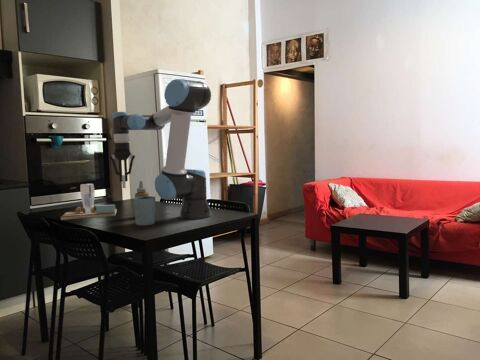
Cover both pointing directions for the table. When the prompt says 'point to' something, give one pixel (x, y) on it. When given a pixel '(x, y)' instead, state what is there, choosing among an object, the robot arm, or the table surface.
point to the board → (85, 214)
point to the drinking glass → (144, 210)
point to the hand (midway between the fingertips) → (124, 187)
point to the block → (105, 209)
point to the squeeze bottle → (141, 191)
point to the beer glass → (87, 197)
